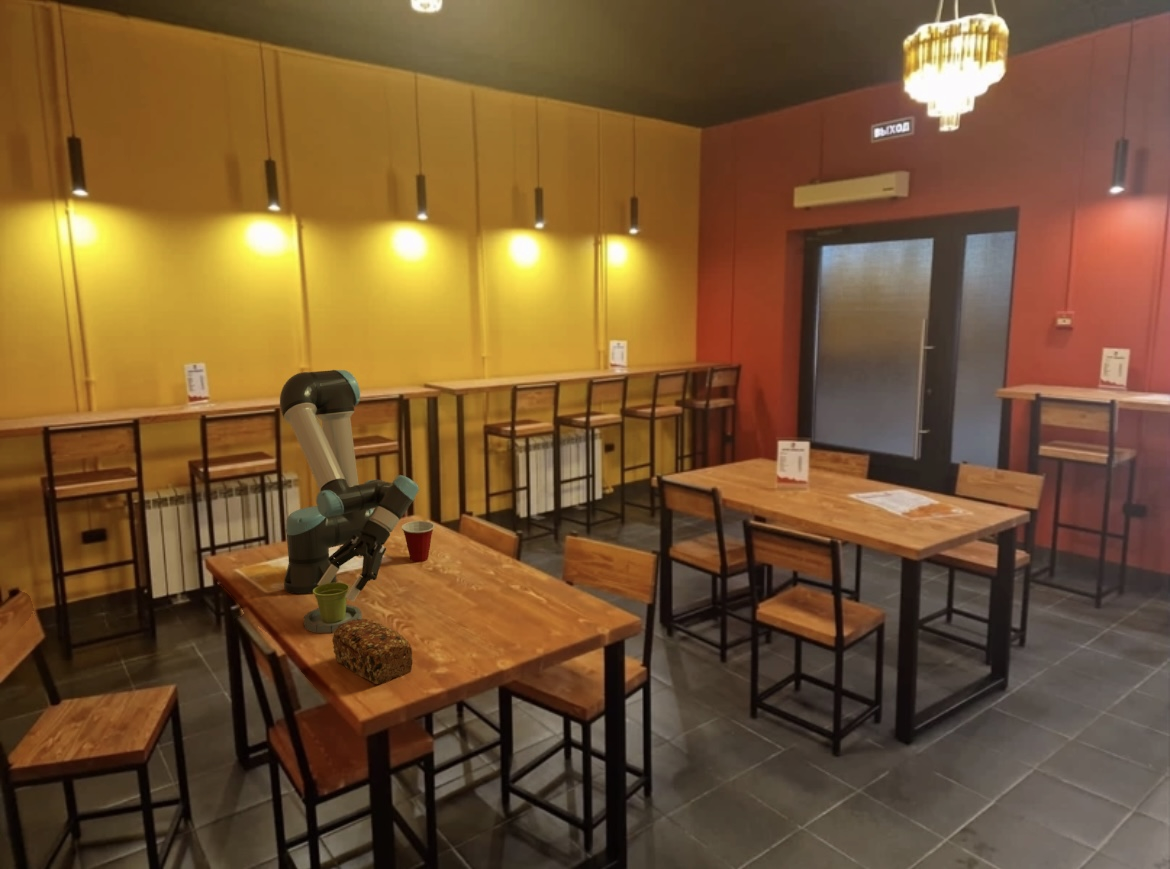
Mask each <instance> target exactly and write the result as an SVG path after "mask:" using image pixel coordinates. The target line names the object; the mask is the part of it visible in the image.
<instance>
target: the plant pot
mask: <svg viewBox="0 0 1170 869" xmlns="http://www.w3.org/2000/svg"><path fill="white" fill-rule="evenodd" d="M350 588H351V587H350V584H348V583H344V582H338V581H337V583H327V584H323V585H320V586H318V587H316V588H314V589H313V593H312V594H313V595H314V597H315V598H316V601H317V605H318V608H319V610H320V615H321V620H322V621H324V622H325V623H335V622H337V621H342V620H343V619H344V618H345V614H346V605H347V600H348V599H347V598H346V597H345V596H346V594H347V593H348V591H349V590H350Z"/></svg>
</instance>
